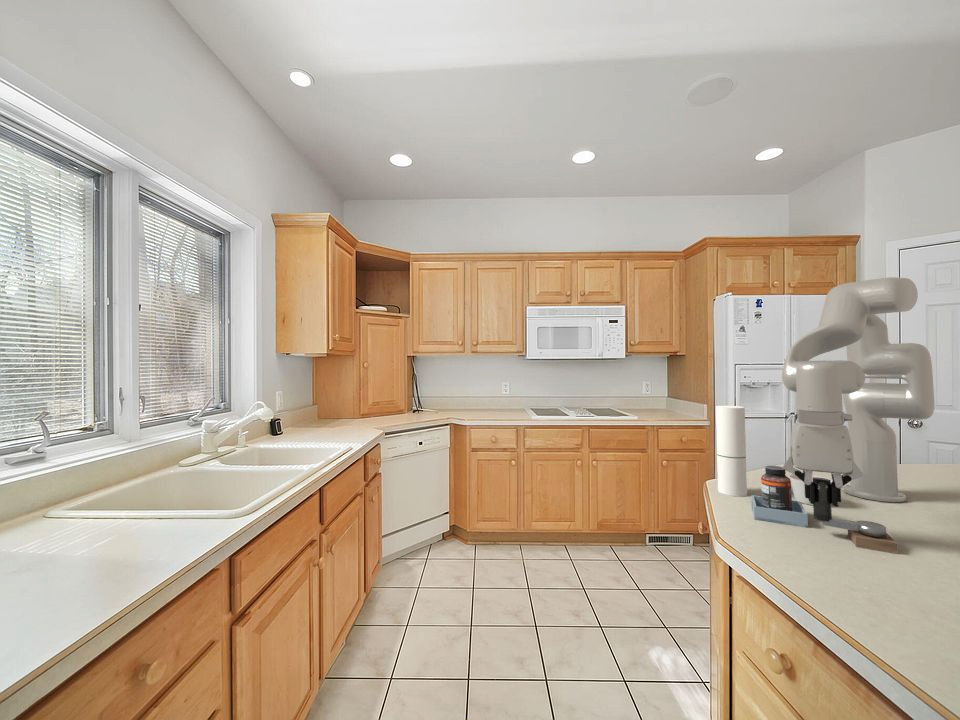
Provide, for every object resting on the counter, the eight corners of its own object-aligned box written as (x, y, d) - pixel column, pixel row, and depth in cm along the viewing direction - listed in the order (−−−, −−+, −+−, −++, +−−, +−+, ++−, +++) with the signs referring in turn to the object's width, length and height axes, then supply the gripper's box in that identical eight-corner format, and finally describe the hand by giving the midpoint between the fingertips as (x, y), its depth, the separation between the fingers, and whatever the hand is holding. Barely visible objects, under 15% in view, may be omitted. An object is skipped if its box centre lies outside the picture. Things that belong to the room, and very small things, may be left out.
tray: (751, 506, 103) (751, 495, 103) (800, 513, 98) (799, 501, 98) (754, 519, 95) (754, 506, 95) (807, 527, 90) (807, 514, 90)
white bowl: (787, 502, 106) (787, 478, 106) (792, 494, 113) (791, 472, 113) (832, 510, 100) (831, 485, 100) (834, 501, 106) (833, 478, 107)
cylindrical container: (746, 491, 116) (744, 406, 117) (747, 497, 110) (744, 408, 111) (718, 487, 120) (716, 405, 121) (717, 493, 114) (715, 407, 115)
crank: (885, 532, 81) (883, 485, 81) (887, 539, 78) (886, 490, 78) (814, 518, 89) (812, 475, 89) (813, 524, 85) (812, 480, 85)
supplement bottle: (786, 510, 99) (785, 465, 99) (797, 519, 93) (795, 471, 93) (758, 508, 101) (757, 463, 101) (767, 516, 95) (765, 469, 95)
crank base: (847, 535, 85) (847, 525, 85) (886, 541, 82) (886, 531, 82) (856, 546, 80) (855, 535, 80) (897, 553, 77) (897, 542, 77)
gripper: (865, 418, 85) (868, 504, 84) (771, 415, 93) (773, 492, 93) (877, 423, 78) (880, 516, 78) (774, 419, 87) (777, 502, 87)
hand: (822, 502), depth 86 cm, fingers closed on crank, 3 cm apart
